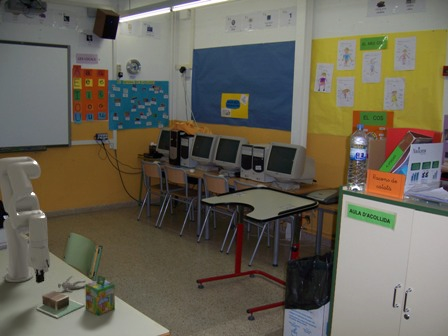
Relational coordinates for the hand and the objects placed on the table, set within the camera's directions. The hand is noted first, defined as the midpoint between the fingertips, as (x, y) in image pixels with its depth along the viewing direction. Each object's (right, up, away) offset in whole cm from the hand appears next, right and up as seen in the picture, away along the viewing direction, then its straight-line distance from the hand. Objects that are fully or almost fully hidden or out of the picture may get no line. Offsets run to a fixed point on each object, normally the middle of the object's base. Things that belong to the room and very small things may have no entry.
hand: (40, 281), depth 211 cm
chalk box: (+29, -10, -7) cm, 31 cm away
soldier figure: (+10, -7, +13) cm, 18 cm away
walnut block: (+5, -6, -2) cm, 8 cm away
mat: (+11, -10, -6) cm, 16 cm away
